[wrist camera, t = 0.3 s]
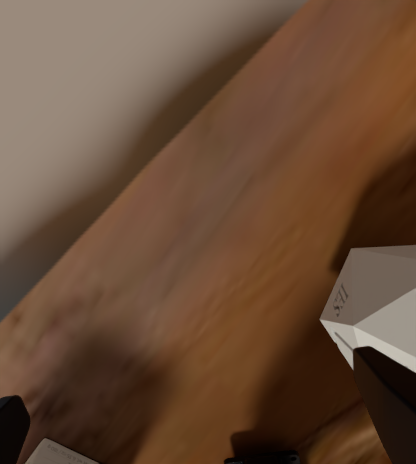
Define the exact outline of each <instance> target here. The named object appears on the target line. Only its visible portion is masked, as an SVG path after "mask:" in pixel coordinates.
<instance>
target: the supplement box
mask: <svg viewBox="0 0 416 464" xmlns="http://www.w3.org/2000/svg"><path fill="white" fill-rule="evenodd" d="M25 464H99V463H97V462H95V461H93V460H91V459H89V458H87V457H85V456H83V455H81V454H78V453H76V452H74V451H72V450H70V449H68V448H66V447H64V446H62V445H60V444H58V443H56V442H53V441H51V440H49V439H47V438H44V439H43V440H42V441H41V443H40V444H39V445H38V447H37V448H36V449H35V451H34V452H33V453H32V455H31V456H30V457H29V459H28V460H27V461H26V463H25Z"/></svg>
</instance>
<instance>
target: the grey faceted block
mask: <svg viewBox="0 0 416 464" xmlns="http://www.w3.org/2000/svg"><path fill="white" fill-rule="evenodd" d="M320 321H321V322H322V324H323V325H324V327H325V328H326V330H327V331H328V333H329V334H330V336H331V337H332V339H333V340H334V342H335V343H337V345H338V348H339V349H340V351H341V352H342V354H343V355H344V357H345V358H346V360H347V361H348V363H349V364H350V366H351V367H352V369H353V349H354V348H356V347H364V346H371V347H373V348H375V349H376V350H378V351H380V352H381V353H383V354H385V355H387V356H388V357H390V358H392V359H393V360H395V361H397V362H398V363H400V364H402V365H403V366H405V367H407V368H408V369H410V370H412V371H414V372H415V373H416V245H406V246H387V247H368V248H351V250H350V252H349V255H348V257H347V259H346V261H345V263H344V266H343V268H342V270H341V272H340V275H339V277H338V279H337V281H336V283H335V286H334V288H333V290H332V292H331V294H330V297H329V299H328V301H327V303H326V306H325V308H324V310H323V312H322V314H321V317H320Z"/></svg>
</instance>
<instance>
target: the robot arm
mask: <svg viewBox="0 0 416 464" xmlns="http://www.w3.org/2000/svg"><path fill="white" fill-rule="evenodd" d="M353 372H354V378H355V382H356V384H357V387H358V389H359V391H360V394H361V396H362V398H363V401H364V403H365V405H366V408H367V410H368V412H369V415H370V417H371V419H372V422H373V424H374V426H375V428H376V431H377V433H378V435H379V438H380V440H381V442H382V444H383V447H384V448H385V450H386V452H387V454H388V456H389V458H390V460H391V462H392V463H393V464H416V373H415V372H414V371H412V370H410V369H408V368H407V367H405V366H403V365H402V364H400V363H398V362H397V361H395V360H393V359H392V358H390V357H388V356H387V355H385V354H383V353H381V352H380V351H378V350H376V349H375V348H373V347H371V346H364V347H356V348H354V349H353ZM29 427H30V415H29V413H28V411H27V409H26V407H25V405H24V403H23V400H22V398H21V397H20V396H18V395H13V396H5V397H2V398H0V464H16V463H17V460H18V458H19V455H20V452H21V449H22V447H23V444H24V441H25V438H26V436H27V433H28V430H29ZM224 464H300V458H299V454H298V452H297V451H295V450H289V451H281V452H273V453H265V454H257V455H250V456H242V457H234V458H227V459H225V460H224Z"/></svg>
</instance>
